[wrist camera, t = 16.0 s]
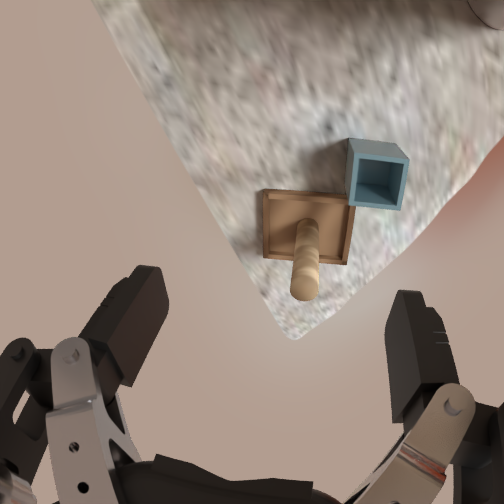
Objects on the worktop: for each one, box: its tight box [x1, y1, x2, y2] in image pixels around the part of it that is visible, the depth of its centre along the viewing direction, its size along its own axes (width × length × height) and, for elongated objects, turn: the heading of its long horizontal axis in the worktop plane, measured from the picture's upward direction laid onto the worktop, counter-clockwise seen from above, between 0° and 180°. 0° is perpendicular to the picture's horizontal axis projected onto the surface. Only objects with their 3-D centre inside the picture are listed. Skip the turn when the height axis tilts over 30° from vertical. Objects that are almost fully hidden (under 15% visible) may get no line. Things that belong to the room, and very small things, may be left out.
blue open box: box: [344, 138, 409, 211], centre depth 37 cm, size 7×7×7 cm
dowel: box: [290, 218, 319, 301], centre depth 41 cm, size 3×3×14 cm
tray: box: [263, 189, 356, 265], centre depth 47 cm, size 13×11×2 cm
